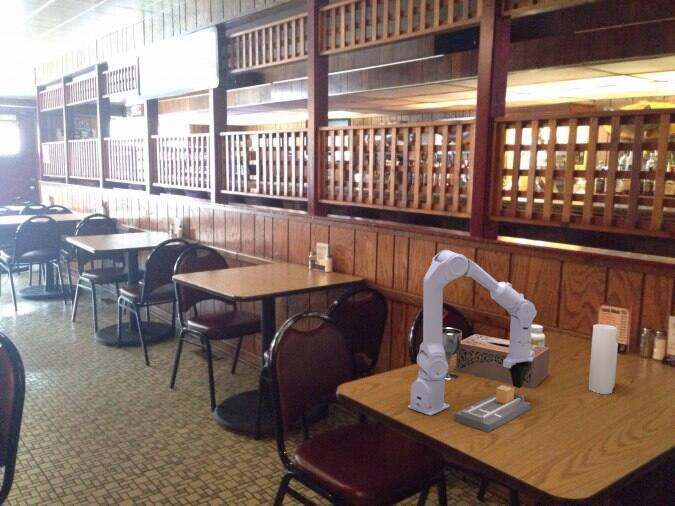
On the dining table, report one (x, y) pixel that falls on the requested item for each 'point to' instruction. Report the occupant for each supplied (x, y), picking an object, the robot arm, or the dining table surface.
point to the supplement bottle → (537, 336)
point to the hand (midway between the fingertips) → (517, 386)
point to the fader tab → (504, 394)
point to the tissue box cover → (498, 360)
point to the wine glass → (451, 346)
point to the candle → (603, 359)
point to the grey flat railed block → (492, 412)
